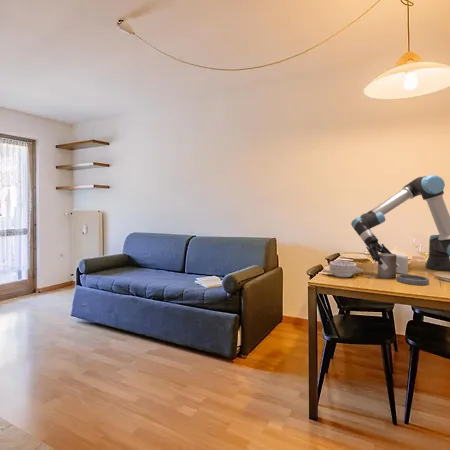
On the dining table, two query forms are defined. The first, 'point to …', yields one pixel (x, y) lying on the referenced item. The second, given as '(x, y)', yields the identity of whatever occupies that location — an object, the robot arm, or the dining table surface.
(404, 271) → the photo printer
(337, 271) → the paper bowls
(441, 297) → the dining table surface
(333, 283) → the dining table surface
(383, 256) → the pillar candle
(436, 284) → the dining table surface
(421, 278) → the candle dish
